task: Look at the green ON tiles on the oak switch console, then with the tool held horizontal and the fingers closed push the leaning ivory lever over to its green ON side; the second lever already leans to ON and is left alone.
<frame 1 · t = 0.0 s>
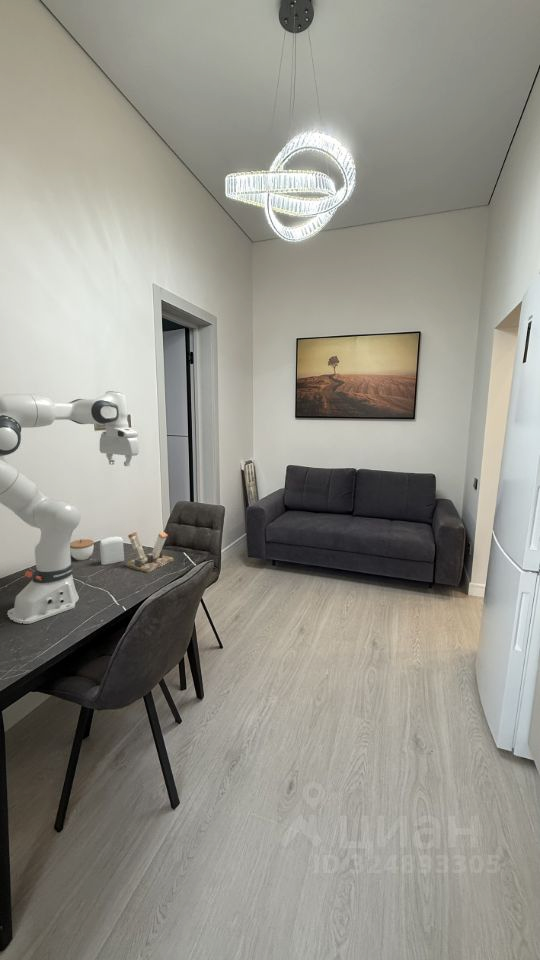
hand: (119, 465, 159), 48 cm above the table, tool pointing down, fingers open, 8 cm apart
console: (150, 563, 178), on the table
lidded jar: (82, 558, 184), on the table
lever: (158, 546, 177), point 9 cm above the table, hinge at -28.0°
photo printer: (112, 562, 179), on the table
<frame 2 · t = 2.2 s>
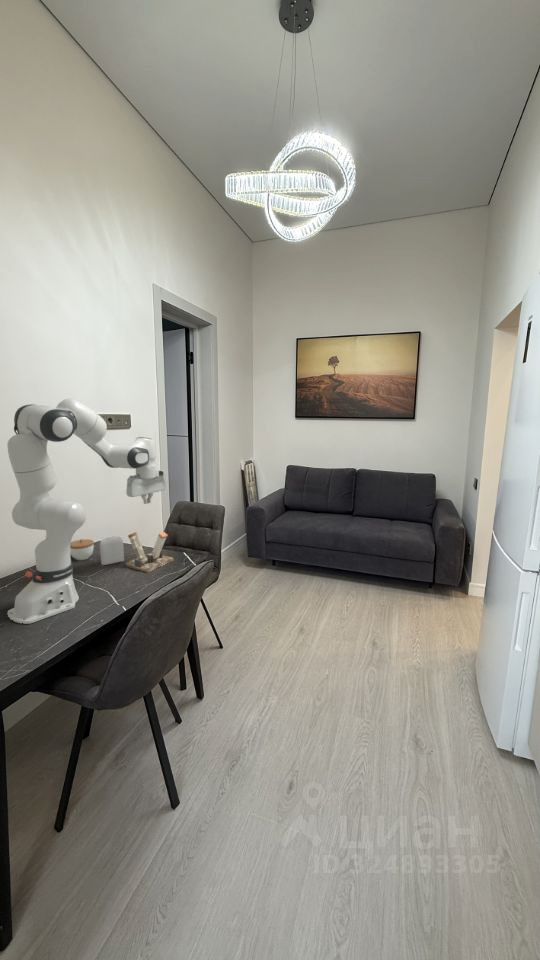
hand: (147, 503, 173), 29 cm above the table, tool pointing down, fingers closed
nothing on the table moved.
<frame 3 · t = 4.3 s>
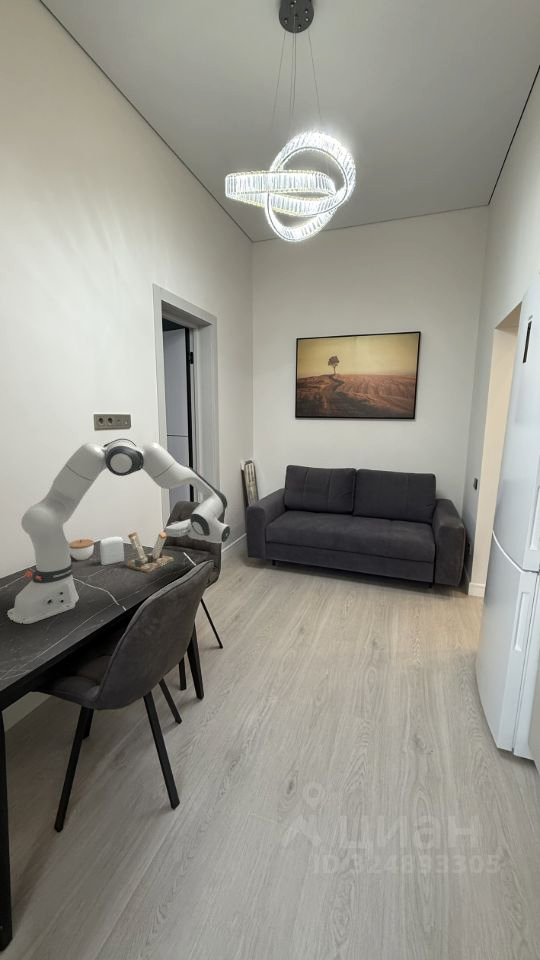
hand: (172, 524, 170), 21 cm above the table, tool horizontal, fingers closed
nothing on the table moved.
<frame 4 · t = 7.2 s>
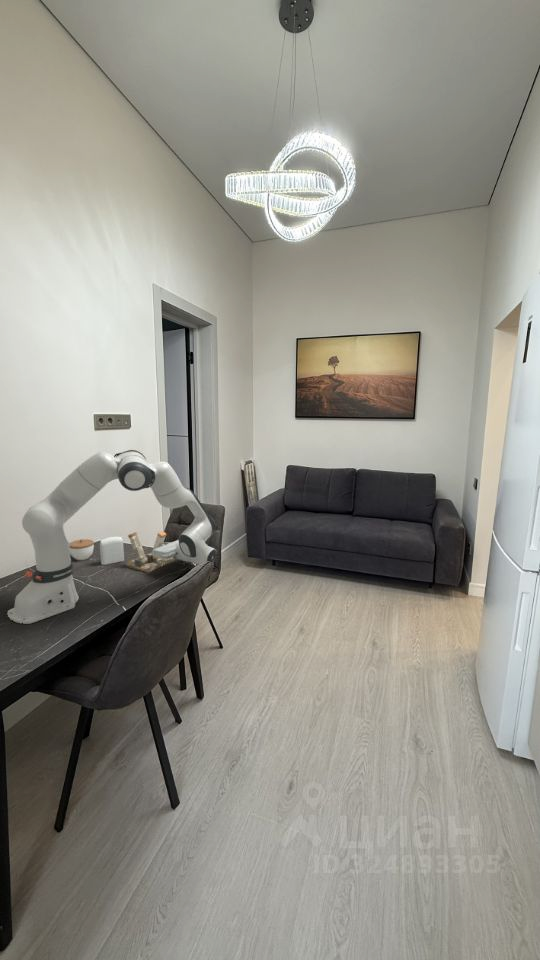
hand: (162, 544, 176), 10 cm above the table, tool horizontal, fingers closed, pressing on lever
lever: (158, 546, 177), point 9 cm above the table, hinge at -25.1°, touching gripper
everything else where it was.
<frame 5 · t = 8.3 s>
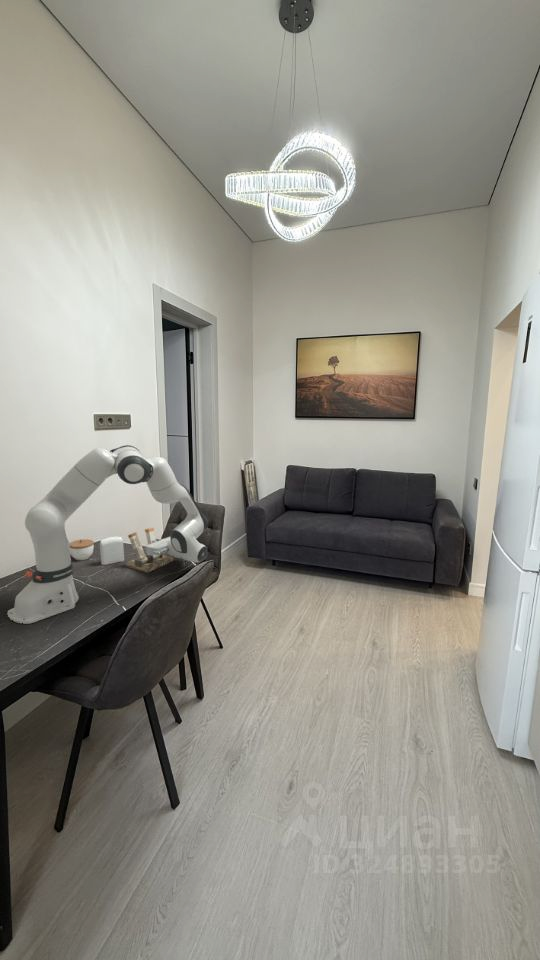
hand: (154, 541, 178), 10 cm above the table, tool horizontal, fingers closed, pressing on lever
lever: (152, 543, 178), point 9 cm above the table, hinge at 12.2°, touching gripper
everything else where it was.
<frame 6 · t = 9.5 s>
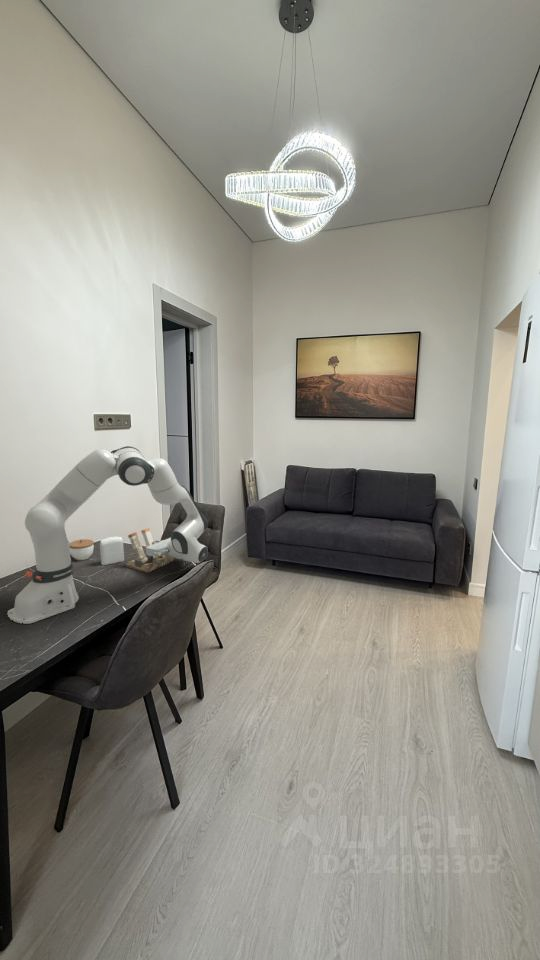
hand: (154, 542, 178), 10 cm above the table, tool horizontal, fingers closed
lever: (150, 544, 179), point 9 cm above the table, hinge at 24.4°
everything else where it was.
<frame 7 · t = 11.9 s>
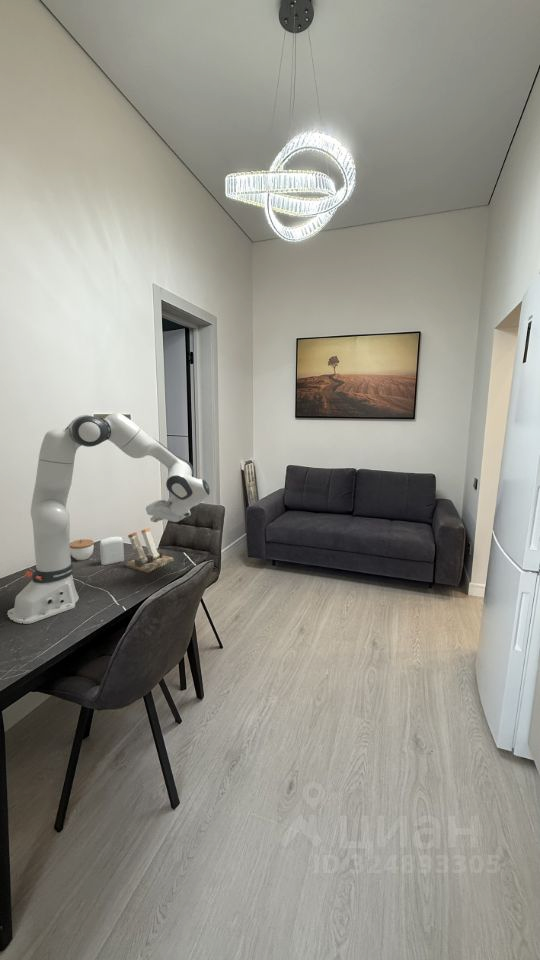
hand: (152, 520, 166), 23 cm above the table, tool tilted 55°, fingers closed
nothing on the table moved.
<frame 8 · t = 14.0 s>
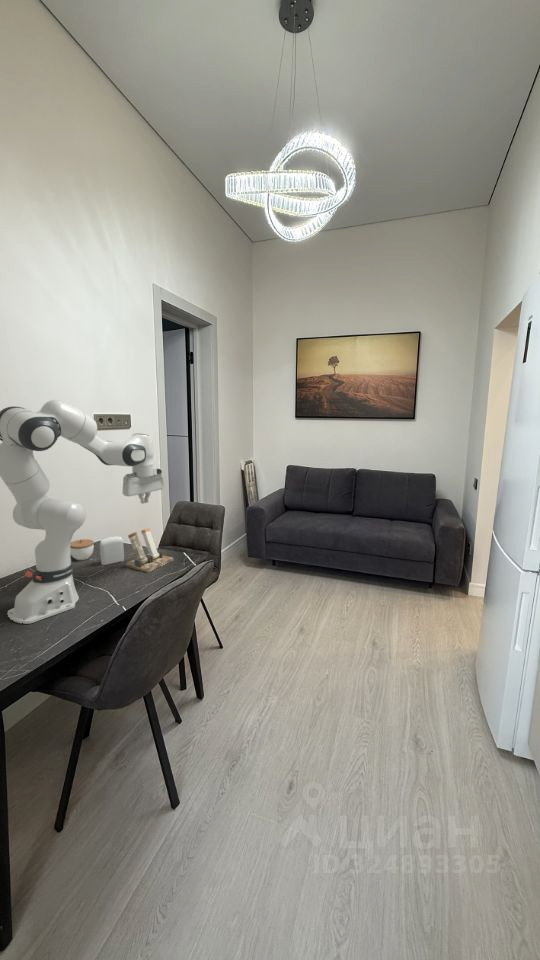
hand: (144, 502, 165), 31 cm above the table, tool pointing down, fingers closed
nothing on the table moved.
at the end: lever at +24° (first picture: -28°); lever touching nothing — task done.
